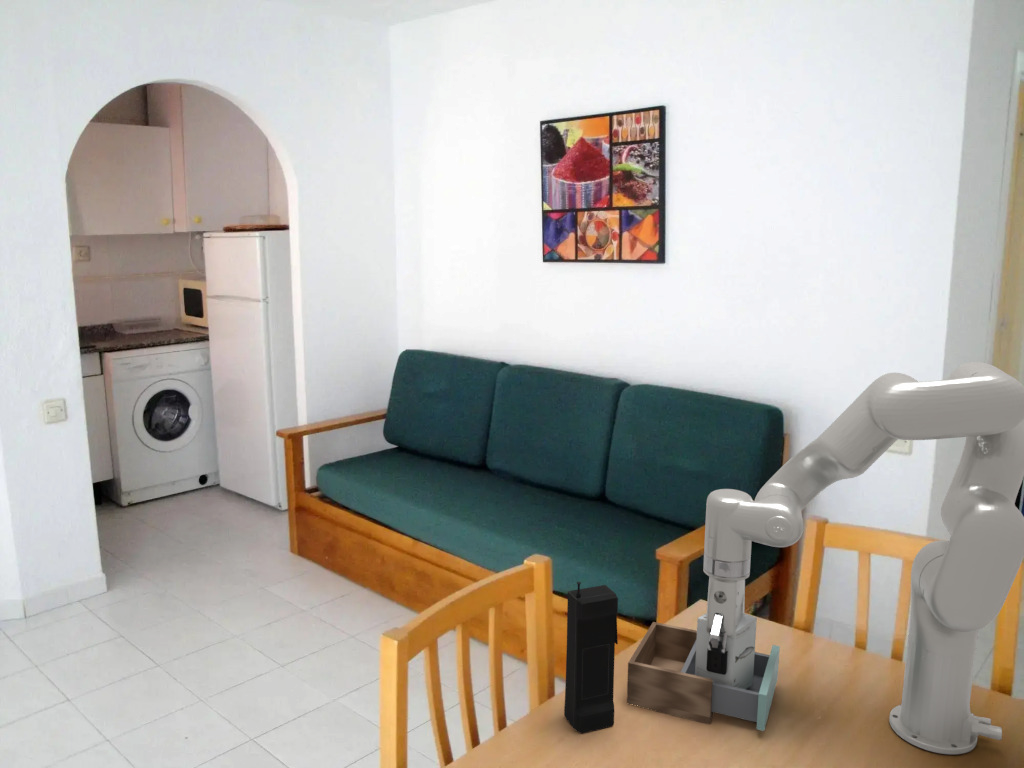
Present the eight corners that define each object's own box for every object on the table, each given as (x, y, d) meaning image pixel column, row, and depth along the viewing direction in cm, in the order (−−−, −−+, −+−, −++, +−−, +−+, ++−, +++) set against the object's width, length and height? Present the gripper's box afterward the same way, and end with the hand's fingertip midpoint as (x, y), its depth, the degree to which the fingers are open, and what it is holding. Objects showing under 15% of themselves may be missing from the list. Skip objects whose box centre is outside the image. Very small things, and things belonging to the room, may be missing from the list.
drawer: (777, 678, 144) (779, 646, 143) (764, 731, 129) (766, 695, 128) (696, 661, 150) (698, 629, 149) (674, 709, 135) (676, 674, 134)
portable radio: (604, 705, 139) (607, 566, 134) (621, 724, 133) (625, 581, 129) (561, 714, 136) (564, 573, 131) (577, 735, 130) (580, 588, 126)
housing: (727, 675, 148) (729, 637, 146) (709, 724, 133) (711, 681, 132) (651, 659, 154) (653, 621, 152) (626, 703, 139) (628, 662, 138)
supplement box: (731, 703, 134) (734, 631, 132) (692, 685, 140) (695, 616, 137) (754, 686, 139) (758, 617, 137) (716, 669, 145) (719, 603, 142)
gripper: (741, 588, 127) (735, 689, 130) (757, 549, 142) (752, 640, 145) (692, 579, 130) (688, 678, 133) (714, 542, 145) (709, 632, 148)
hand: (721, 658), depth 139 cm, fingers closed on supplement box, 9 cm apart
